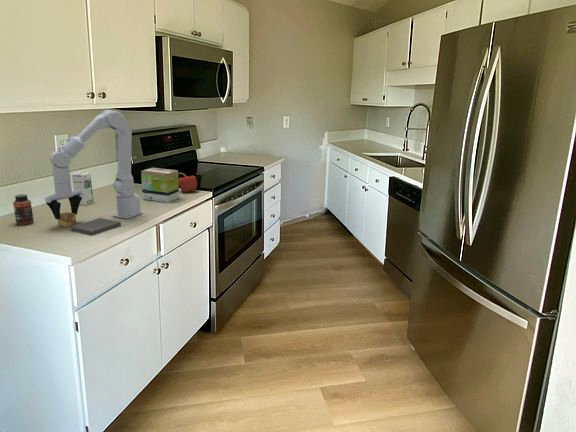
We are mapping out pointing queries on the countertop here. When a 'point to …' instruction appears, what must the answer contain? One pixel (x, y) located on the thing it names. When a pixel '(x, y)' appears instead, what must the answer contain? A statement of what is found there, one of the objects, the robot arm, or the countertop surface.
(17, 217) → the supplement bottle
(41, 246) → the countertop surface
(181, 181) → the vegetable
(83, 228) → the charcoal mat
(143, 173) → the tea box
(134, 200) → the robot arm
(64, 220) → the oak cube
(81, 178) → the syrup box
